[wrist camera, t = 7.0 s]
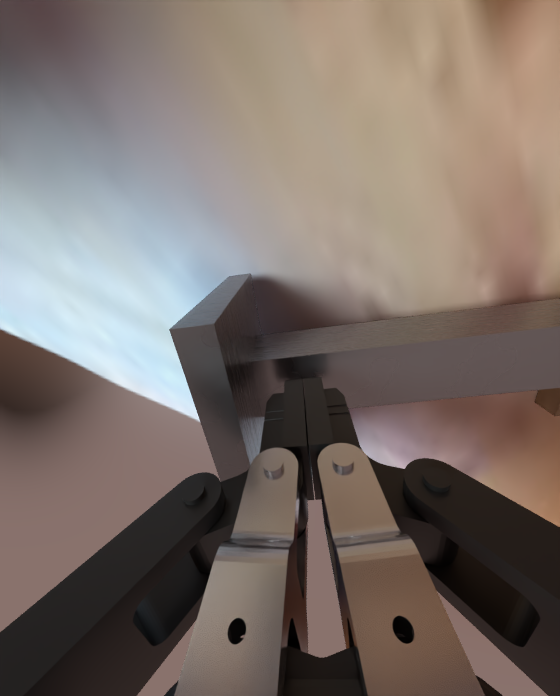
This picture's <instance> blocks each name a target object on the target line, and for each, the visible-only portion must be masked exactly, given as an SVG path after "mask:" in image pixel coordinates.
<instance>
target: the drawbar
mask: <svg viewBox="0 0 560 696" xmlns="http://www.w3.org/2000/svg"><path fill="white" fill-rule="evenodd" d="M169 330H170V333H171V336H172V339H173V342H174V345H175V348H176V351H177V354H178V357H179V359H180V362H181V365H182V368H183V371H184V374H185V377H186V380H187V383H188V386H189V389H190V392H191V395H192V398H193V401H194V404H195V407H196V410H197V413H198V416H199V419H200V422H201V425H202V427H203V430H204V433H205V436H206V440H207V442H208V445H209V448H210V451H211V454H212V457H213V460H214V463H215V466H216V469H217V472H218V475H219V478H220V481H221V482H222V481H224V480H227V479H230V478H233V477H235V476H238V475H240V474H242V473H244V472H246V471H247V470H248V469H249V468H250V465H251V463H252V461H253V459H254V458H255V457H256V456H257V455H258V454H259V453H260V446H261V439H262V432H263V425H264V418H265V410H266V403H267V401H268V400H269V398H270V397H271V396H272V394H276V393H284V382H285V380H293V379H303V378H312V377H321V378H322V383H323V388H324V389H328V388H337V389H338V390H339V391H340V392H341V393H342V394H343V395H344V397H345V400H346V403H347V406H348V409H349V408H359V407H369V406H380V405H390V404H400V403H410V402H420V401H430V400H441V399H451V398H461V397H471V396H481V395H491V394H501V393H512V392H522V391H532V390H542V389H552V388H560V298H559V299H551V300H543V301H535V302H527V303H518V304H510V305H502V306H494V307H486V308H478V309H469V310H461V311H453V312H445V313H437V314H429V315H420V316H412V317H404V318H396V319H388V320H379V321H371V322H363V323H355V324H347V325H339V326H330V327H322V328H314V329H306V330H298V331H289V332H281V333H273V334H265V335H262V333H261V328H260V322H259V317H258V311H257V306H256V300H255V295H254V289H253V284H252V278H251V274H244V275H237V276H229V277H228V278H227V279H226V280H224V281H223V282H222V283H221V284H220V285H219V286H218V287H217V288H215V289H214V290H213V291H212V292H211V293H210V294H209V295H208V296H206V297H205V298H204V299H203V300H202V301H201V302H200V303H199V304H197V305H196V306H195V307H194V308H193V309H192V310H191V311H190V312H188V313H187V314H186V315H185V316H184V317H183V318H182V319H181V320H179V321H178V322H177V323H176V324H175V325H174V326H173V327H172V328H170V329H169ZM303 386H304V381H303ZM304 395H305V393H304Z"/></svg>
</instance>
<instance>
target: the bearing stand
mask: <svg viewBox="0 0 560 696" xmlns="http://www.w3.org/2000/svg"><path fill="white" fill-rule="evenodd" d="M535 403H537V404H538V405H540V406H541V407H543V408H544V409H545V410H547V411H548V412H550V413H551V414H552V415H554V416H560V388H552V389H542V390H539V391H538V394H537V397H536V400H535Z"/></svg>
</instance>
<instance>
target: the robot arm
mask: <svg viewBox="0 0 560 696" xmlns="http://www.w3.org/2000/svg"><path fill="white" fill-rule="evenodd" d="M303 381H304V386H303ZM304 393H305V395H304ZM311 467H312V468H311ZM312 475H313V480H312ZM313 483H314V491H315V499H316V500H317V499H322V507H323V516H324V525H325V531H326V536H327V542H328V547H329V553H330V558H331V563H332V569H333V574H334V580H335V585H336V590H337V596H338V601H339V607H340V613H341V620H342V626H343V632H344V638H345V644H346V649H345V650H343V651H340V652H338V653H336V654H333V655H331V656H328V657H325V658H319V657H315V656H313V655H310V654H308V627H307V626H308V624H307V607H306V606H307V601H306V600H307V598H306V596H307V544H308V524H307V522H308V503H307V500H314V493H313ZM436 590H437V591H438V592H439V593H440V594H441V595H442V596H443V597H444V598H445V599H446V600H447V601H448V602H449V603H451V605H453V606H454V607H455V608H456V609H457V610H458V611H459V612H460V613H461V614H462V615H463V616H464V617H465V618H466V619H468V620H469V621H470V622H471V623H472V624H473V625H474V626H475V627H476V628H477V629H478V630H479V631H480V632H481V633H482V634H483V635H485V636H486V637H487V638H488V639H489V640H490V641H491V642H492V643H493V644H494V645H495V646H496V647H497V648H498V649H499V650H500V651H501V652H502V653H504V654H505V655H506V656H507V657H508V658H509V659H510V660H511V661H512V662H513V663H514V664H515V665H516V666H517V667H518V668H519V669H521V670H522V671H523V672H524V673H525V674H526V675H527V676H528V677H529V678H530V679H531V680H532V681H533V682H534V683H535V684H536V685H538V686H539V687H540V688H541V689H542V690H543V691H544V692H545V693H546V694H547V695H548V696H560V527H558V526H556V525H554V524H553V523H551V522H549V521H547V520H545V519H544V518H542V517H540V516H538V515H537V514H535V513H533V512H531V511H530V510H528V509H526V508H524V507H523V506H521V505H519V504H517V503H515V502H514V501H512V500H510V499H508V498H507V497H505V496H503V495H501V494H500V493H498V492H496V491H494V490H493V489H491V488H489V487H487V486H485V485H484V484H482V483H480V482H478V481H477V480H475V479H473V478H471V477H470V476H468V475H466V474H464V473H462V472H461V471H459V470H457V469H455V468H454V467H452V466H450V465H448V464H446V463H444V462H441V461H438V460H435V459H428V458H423V459H417V460H414V461H412V462H410V463H409V464H408V465H407V466H406V468H405V469H401V468H397V467H392V466H387V465H383V464H380V463H378V462H376V461H374V460H372V459H371V458H369V457H368V456H367V455H366V454H365V453H364V452H363V451H362V449H361V447H360V445H359V442H358V439H357V435H356V432H355V429H354V426H353V423H352V419H351V416H350V414H349V410H348V406H347V403H346V400H345V397H344V395H343V394H342V393H341V392H340V391H339V390H338V389H337V388H328V389H324V388H323V383H322V378H321V377H312V378H303V379H293V380H285V382H284V393H276V394H272V396H271V397H270V398H269V400H268V401H267V403H266V410H265V418H264V425H263V432H262V439H261V446H260V453H259V454H258V455H257V456H256V457H255V458H254V459H253V461H252V463H251V465H250V468H249V469H248V470H247V471H246V472H244V473H242V474H240V475H238V476H235V477H233V478H230V479H227V480H224V481H222V482H220V481H219V479H218V478H217V477H216V476H215V475H214V474H211V473H198V474H194V475H192V476H190V477H188V478H186V479H185V480H183V481H182V482H181V483H180V484H178V485H177V486H176V487H175V488H173V489H172V490H171V491H170V492H169V493H167V494H166V495H165V496H164V497H163V498H161V499H160V500H159V501H158V502H157V503H156V504H154V505H153V506H152V507H151V508H150V509H148V510H147V511H146V512H145V513H144V514H142V515H141V516H140V517H139V518H137V519H136V520H135V521H134V522H133V523H131V524H130V525H129V526H128V527H127V528H125V529H124V530H123V531H122V532H121V533H119V534H118V535H117V536H116V537H114V538H113V539H112V540H111V541H110V542H108V543H107V544H106V545H105V546H104V547H102V549H100V550H99V551H98V552H97V553H95V554H94V555H93V556H92V557H91V558H89V559H88V560H87V561H86V562H85V563H83V564H82V565H81V566H80V567H78V568H77V569H76V570H75V571H74V572H72V573H71V574H70V575H69V576H68V577H66V578H65V579H64V580H63V581H62V582H60V583H59V584H58V585H57V586H56V587H54V588H53V589H52V590H51V591H50V592H48V593H47V594H46V595H45V596H44V597H42V598H41V599H40V600H39V601H38V602H36V603H35V604H34V605H33V606H32V607H30V608H29V609H28V610H27V611H25V613H23V614H22V615H21V616H20V617H18V618H17V619H16V620H15V621H13V622H12V623H11V624H10V625H9V626H7V627H6V628H5V629H4V630H3V631H1V632H0V696H137V694H138V693H139V692H140V691H141V689H142V688H143V687H144V686H145V684H146V683H147V682H148V680H149V679H150V678H151V677H152V675H153V674H154V673H155V672H156V670H157V669H158V668H159V667H160V665H161V664H162V663H163V661H164V660H165V659H166V658H167V656H168V655H169V654H170V653H171V651H172V650H173V649H174V647H175V646H176V645H177V644H178V642H179V641H180V640H181V639H182V637H183V636H184V635H185V633H186V632H187V631H188V630H189V628H190V627H191V626H192V625H193V623H194V622H195V621H196V623H195V627H194V630H193V634H192V637H191V640H190V644H189V647H188V651H187V654H186V657H185V661H184V665H183V668H182V671H181V674H180V678H179V681H178V682H177V683H176V684H174V685H173V687H172V688H170V689H169V691H168V692H167V693H166V694H165V695H164V696H502V695H501V694H500V693H499V692H498V691H496V690H495V689H494V688H492V687H491V686H490V685H489V684H487V683H486V682H485V681H484V680H482V679H481V678H479V677H478V676H476V675H475V673H474V672H473V669H472V666H471V664H470V662H469V660H468V658H467V656H466V653H465V651H464V649H463V647H462V645H461V643H460V641H459V638H458V636H457V634H456V632H455V630H454V628H453V626H452V623H451V621H450V619H449V617H448V614H447V613H446V610H445V608H444V606H443V604H442V601H441V599H440V597H439V595H438V593H437V591H436ZM196 619H197V620H196Z"/></svg>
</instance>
